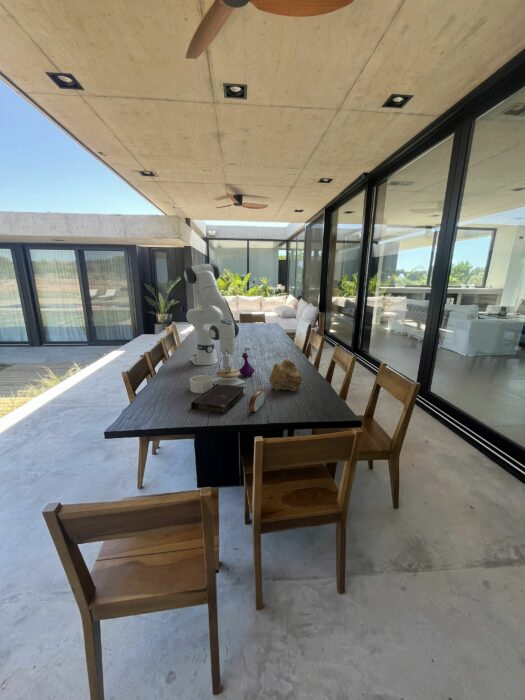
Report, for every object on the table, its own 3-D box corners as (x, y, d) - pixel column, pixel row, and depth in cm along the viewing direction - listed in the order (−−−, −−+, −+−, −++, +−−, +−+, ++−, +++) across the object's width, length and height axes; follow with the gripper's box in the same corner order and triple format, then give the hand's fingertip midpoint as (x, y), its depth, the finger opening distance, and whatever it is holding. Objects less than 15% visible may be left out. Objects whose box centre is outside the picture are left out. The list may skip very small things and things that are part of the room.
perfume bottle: (247, 378, 182) (247, 350, 178) (238, 375, 186) (238, 348, 182) (255, 375, 188) (255, 347, 183) (246, 372, 192) (245, 345, 188)
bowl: (187, 387, 166) (186, 377, 165) (206, 383, 173) (206, 373, 172) (196, 394, 157) (195, 384, 155) (216, 389, 164) (216, 379, 162)
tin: (260, 401, 149) (260, 385, 147) (266, 402, 148) (266, 386, 146) (248, 414, 136) (247, 397, 134) (254, 415, 135) (254, 398, 132)
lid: (213, 372, 178) (212, 364, 177) (234, 368, 185) (234, 361, 183) (221, 380, 166) (221, 371, 165) (244, 375, 173) (243, 367, 171)
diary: (190, 410, 140) (189, 400, 139) (215, 391, 163) (215, 383, 162) (225, 416, 134) (225, 406, 133) (247, 395, 157) (246, 387, 156)
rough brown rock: (293, 399, 154) (296, 372, 150) (264, 391, 161) (267, 365, 157) (307, 386, 174) (310, 362, 170) (281, 379, 181) (284, 356, 177)
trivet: (208, 380, 177) (208, 380, 177) (231, 375, 186) (231, 374, 186) (222, 389, 165) (222, 388, 165) (245, 383, 174) (245, 382, 174)
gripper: (231, 353, 161) (231, 377, 165) (234, 343, 181) (234, 365, 185) (219, 353, 161) (220, 376, 165) (224, 343, 181) (224, 365, 184)
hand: (228, 370), depth 175 cm, fingers closed on lid, 3 cm apart
